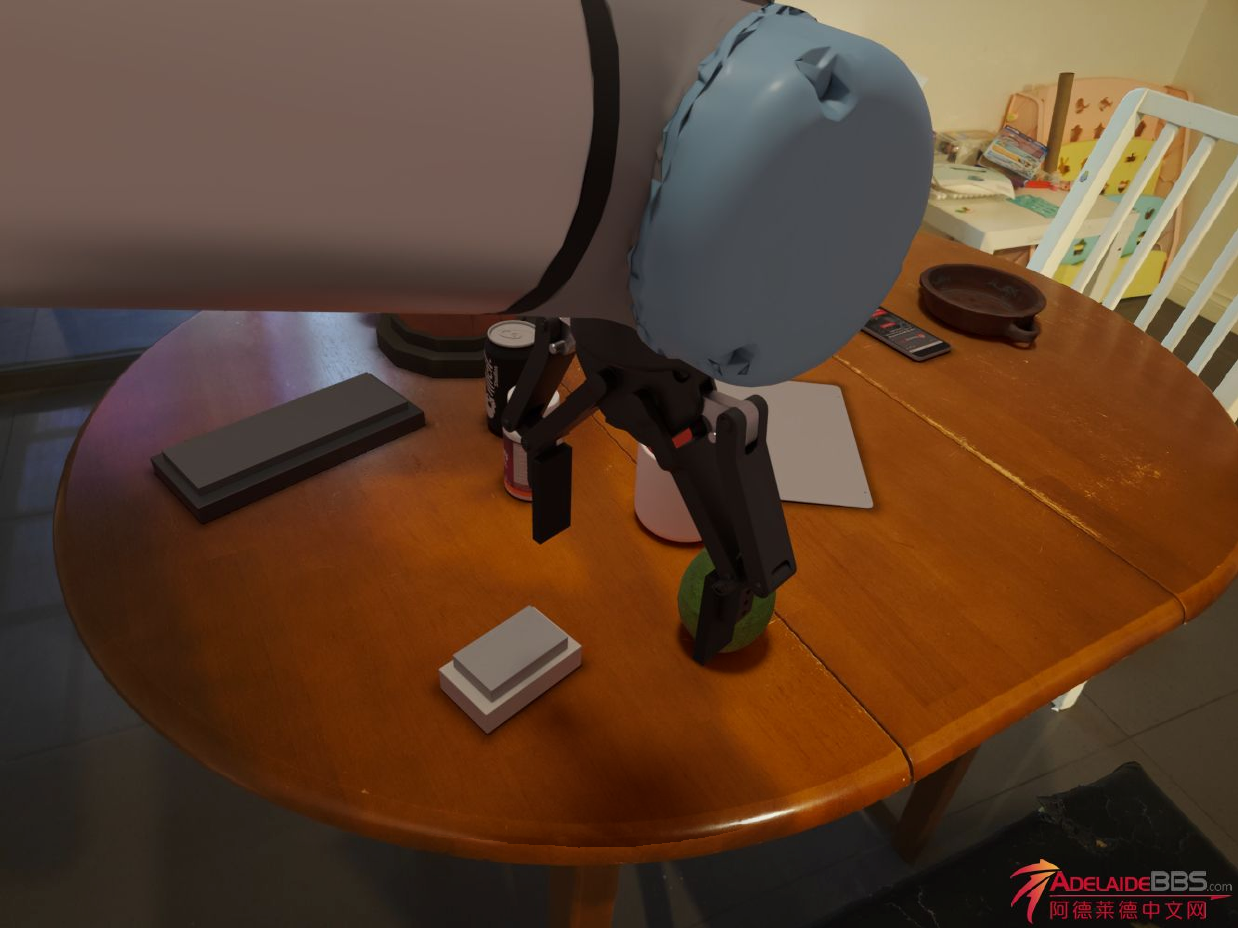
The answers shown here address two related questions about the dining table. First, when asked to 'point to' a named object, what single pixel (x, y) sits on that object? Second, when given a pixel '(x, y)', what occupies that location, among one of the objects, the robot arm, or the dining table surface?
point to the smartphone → (904, 335)
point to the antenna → (810, 443)
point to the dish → (983, 300)
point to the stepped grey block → (509, 667)
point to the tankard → (439, 342)
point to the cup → (662, 497)
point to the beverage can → (505, 364)
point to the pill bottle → (520, 457)
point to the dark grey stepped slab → (284, 445)
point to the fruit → (691, 603)
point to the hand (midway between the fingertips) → (626, 587)
